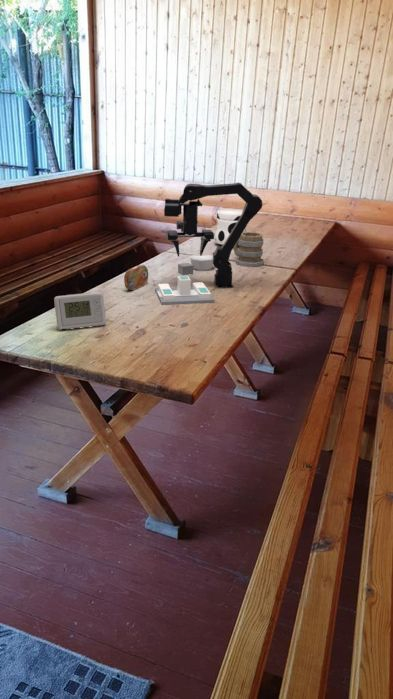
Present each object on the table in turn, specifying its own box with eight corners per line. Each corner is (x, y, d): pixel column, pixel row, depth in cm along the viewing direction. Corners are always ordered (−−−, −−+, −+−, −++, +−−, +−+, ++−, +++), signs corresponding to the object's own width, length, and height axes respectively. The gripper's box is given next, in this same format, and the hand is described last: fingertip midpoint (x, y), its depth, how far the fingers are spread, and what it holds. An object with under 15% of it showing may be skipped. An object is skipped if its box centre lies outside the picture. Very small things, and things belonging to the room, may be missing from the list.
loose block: (187, 271, 247) (188, 262, 245) (193, 274, 243) (193, 265, 241) (177, 272, 244) (178, 263, 243) (183, 275, 240) (183, 266, 239)
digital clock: (55, 331, 177) (53, 300, 172) (57, 321, 185) (54, 291, 180) (106, 329, 179) (105, 298, 175) (105, 320, 187) (104, 290, 183)
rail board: (203, 288, 223) (204, 280, 222) (214, 302, 207) (214, 294, 206) (155, 290, 219) (155, 282, 218) (161, 304, 203) (161, 296, 202)
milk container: (212, 241, 303) (213, 208, 296) (242, 241, 305) (244, 208, 298) (216, 248, 288) (217, 214, 281) (248, 248, 290) (251, 214, 282)
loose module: (187, 290, 216) (187, 275, 213) (190, 295, 210) (190, 279, 208) (177, 290, 215) (177, 275, 213) (180, 295, 210) (180, 280, 207)
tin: (129, 292, 216) (129, 272, 212) (123, 291, 217) (122, 270, 214) (149, 283, 228) (148, 263, 225) (142, 282, 229) (142, 262, 226)
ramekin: (209, 264, 259) (209, 253, 257) (217, 270, 249) (218, 259, 247) (186, 265, 255) (187, 254, 253) (194, 272, 246) (194, 260, 244)
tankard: (268, 264, 261) (270, 233, 255) (247, 268, 254) (249, 235, 248) (241, 255, 276) (243, 225, 270) (221, 258, 269) (223, 228, 263)
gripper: (208, 213, 226) (207, 250, 232) (163, 213, 222) (163, 251, 228) (215, 218, 216) (213, 257, 222) (168, 218, 212) (168, 258, 218)
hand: (189, 256), depth 223 cm, fingers open, 9 cm apart
